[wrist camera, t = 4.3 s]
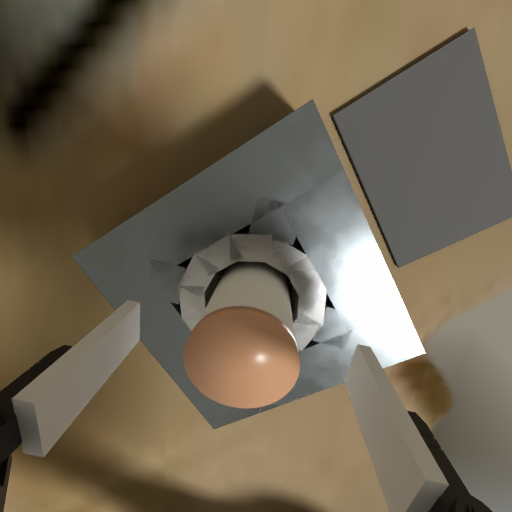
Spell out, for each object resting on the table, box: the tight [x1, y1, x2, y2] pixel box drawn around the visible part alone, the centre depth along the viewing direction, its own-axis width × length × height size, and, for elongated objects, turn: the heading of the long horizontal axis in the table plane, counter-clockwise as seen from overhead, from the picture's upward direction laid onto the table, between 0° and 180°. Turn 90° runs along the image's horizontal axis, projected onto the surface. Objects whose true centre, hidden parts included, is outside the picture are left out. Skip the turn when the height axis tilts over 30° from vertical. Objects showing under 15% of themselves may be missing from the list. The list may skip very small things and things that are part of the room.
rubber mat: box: [332, 28, 512, 268], centre depth 19 cm, size 14×10×1 cm
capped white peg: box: [183, 261, 300, 408], centre depth 18 cm, size 6×6×11 cm
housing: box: [71, 99, 425, 429], centre depth 21 cm, size 20×20×5 cm
